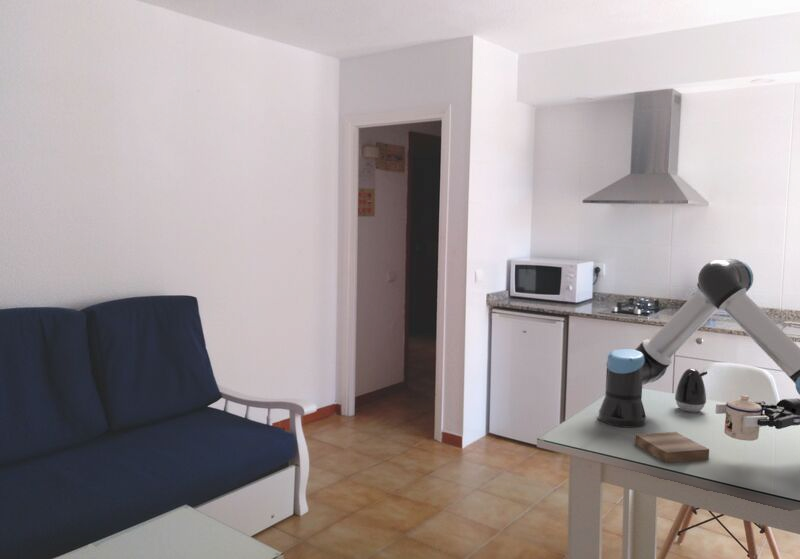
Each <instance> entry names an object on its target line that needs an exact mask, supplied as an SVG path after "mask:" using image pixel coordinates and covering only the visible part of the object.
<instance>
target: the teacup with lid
mask: <svg viewBox="0 0 800 559" xmlns="http://www.w3.org/2000/svg"><path fill="white" fill-rule="evenodd" d="M754 402H755V401H754ZM754 402H753V400H751V399H750V397H749V395H745V394H741V395H740V397H738V398H735V399H730V400H727V402H726V403H725V404H726V406H727V409H726V413H725V420H724V421H725V422H724V432H723V433H724V434H725V436H728V437H730V438H731V439H735V440H740V441H747V442H749V441H750V442H751V441H756V440H758V439H759V435H760V434H759V433H760V427H745V417H750V416H761V411H762V407H761V406H760V405H758V404H756V403H754Z"/></svg>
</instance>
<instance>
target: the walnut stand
mask: <svg viewBox="0 0 800 559" xmlns="http://www.w3.org/2000/svg"><path fill="white" fill-rule="evenodd" d="M634 444H635V445H636V446H637V447H639V448H641V449H642V450H644V451H645V452H647V453H649V454H651V455H652V456H654V457H655V456H656V457H655V458H656V459H659V460H661V462H664V463H665V464H667V463H668V464H669V463H677V462H678V463H680V462H692V461H705V460H706V461H707V460H709V459H710V458H709V457H710V448H708V447H706V446H705V445H702V444H700V443H698V442H696V441H694V440H693V439H691V438H688V437H687V436H685V435H683V434H681V433H679V432H677V431H669V432H654V433H639V434H638V433H637V434H635V440H634Z"/></svg>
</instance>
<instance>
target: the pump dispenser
mask: <svg viewBox="0 0 800 559" xmlns="http://www.w3.org/2000/svg"><path fill="white" fill-rule="evenodd" d="M706 375H708V371H706V370H705V371H702V372H699V371H698V369H695V368H687V369H685V371H684V372H683V373H682V375H681V377H680V379H679V381H678V383H677V386H676V391H675V394H674V400H675V403H676V405H677V407H678V409H680V410H682V411H683V412H686V413H698V412H701V411H702V410H703V409H704V407H705V406H706V405H705V404H706V403H707V393H706V392H707V391H706V387H705V383H704V380H703V377H704V376H706Z"/></svg>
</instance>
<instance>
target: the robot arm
mask: <svg viewBox="0 0 800 559" xmlns="http://www.w3.org/2000/svg"><path fill="white" fill-rule="evenodd" d="M753 273H754V272H753V270H752V269H751V267H750V266H749V264H747V263H746V262H744V261H742V260H740V259H736V258H726V259H720V260H719V259H718V260H711V261H709V262H708V263H706V264H705V265H704V266H703V267H702V268H701V269H700V271H699V273H698V276H697V283H696V291H695V293H694V294H692V296H691V297H690V298H689V299H688V300H687V301H686V302H685V303H684V304H683V305H682V306H681V307H680V308H679V309H678V310H677V311H676V312H675V313H674V315H673V316H672V317H671V318H670V319H669V320H668V321H667V322H666V323H665V324H664V325H663V326H662V327H661V328H660V330H658V331H657V332H656V333H655V335H654V336H652V338H651V339H647V338H646V339H644V340H643V341H642V342H641V343H640V344H639V345H638V346H637V347H636V348H635V349H632V348H622V349H619V348H618V349H614V350H611V351H610V352H609V353H608V355H607V359H606V365H605V366H606V373H605V393H604V399H603V400H602V404H601V405H600V408H599V411H598V419H599V420H600V421H601V422H603V423H604V424H605V423H606V424H608V425H612V426H616V427H623V428H624V427H625V428H637V427H642V426H645V425H646V423H647V422H646V421H647V416H646V412H645V407H644V404H643V400H642V398H643V386H644V385H647V384H649V383H654V382H656V381H658V380H660V379H661V378H662V377H663V376H664V375H665V374H666V372H667V369H668V367H669V366H670V365H672V362H673V360H672V359H673V358H672V357H673V356H674V354H676V353H677V352H678V350H680V348H682V347H683V345H685V344H686V342H687V341H688V340H690V338H692V336H694V334H695V333H696V332H697V331H698V330H699V329H700V328H701V327H702V326H703V325H704V324H705V323H706V322H707V321H708V320H709V319H710V318H711V317H712V316H713V315H714V314H716V312H717V311H724V312H725V313H726V314H728V316H729V317H730V318H731V319H732V320H733V321H734V322H735V323H736V324H737V325H738V326H739V327H740V328H741V329H742V331H744V332H745V333H746V334H747V336H749V338H750V339H751V340H753V342H754V343H755V344H756V345H757V346H758V347H759V348H760V350H762V351H763V352H764V353H765V354H766V356H768V357H769V358H770V359H771V360H772V361H773V362H774V363H775V365H776V366H777V367H779V368H780V369H781V370H782V372H783V373H784V374H786V376H787V377H788V378H789V379H791V381H792V382H793V383H794V384H795V389H796V392H797V393H798V394H799V396H800V347H799V346H798V345H797V344H796V343H795V342H794V341H793V339H791V337H789V335H787V333H786V332H784V330H782V329H781V328H780V327H779V326H778V325H777V324H776V322H774V321H773V319H771V318H770V317H769V316H768V314H767V313H765V311H764V310H763V309H761V308H760V307H759V306H758V304H757V303H755V302H754V301H753V300H752V299H751V297H749V295H748V294H747V292H748V291H749V290H750V288H752V286H753V282H754V274H753ZM752 401H753V400H752ZM753 402H754V403H756V404H758V405H760V406H761V407H762V411H761V416H750V417H745V427H759V428H761V427H769V428H773V427H774V428H775V429H776V430H781V429H784V428H788V427H792V426H800V397H798V398H797V397H796V398H795V397H794V398H783V399H780V400H779V401H778V402H777V403H776V404H774V403H770V404H769V403H768V404H767V403H766V401H764V400H762V401H753ZM726 409H727V406H726V403H715V414H717V415H721V414H726Z"/></svg>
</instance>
